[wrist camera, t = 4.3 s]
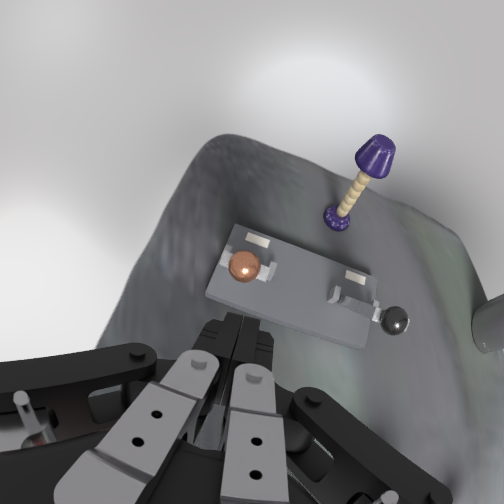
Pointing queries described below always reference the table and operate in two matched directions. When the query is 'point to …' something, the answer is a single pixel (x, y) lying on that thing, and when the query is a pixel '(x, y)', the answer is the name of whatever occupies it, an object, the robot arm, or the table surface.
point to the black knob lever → (379, 314)
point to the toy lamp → (362, 178)
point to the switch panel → (297, 289)
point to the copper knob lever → (244, 266)
